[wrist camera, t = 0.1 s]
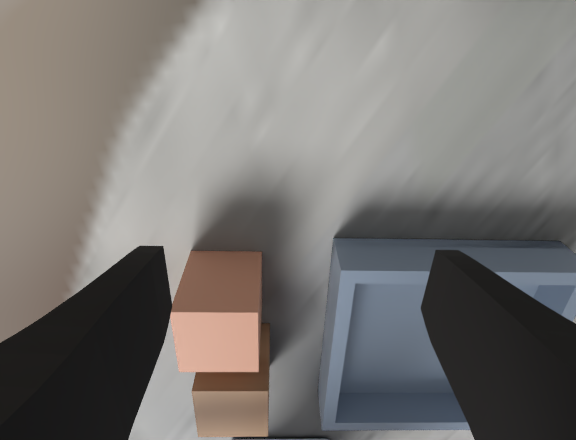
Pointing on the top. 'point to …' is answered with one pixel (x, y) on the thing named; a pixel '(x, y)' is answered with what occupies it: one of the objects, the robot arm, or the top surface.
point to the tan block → (234, 398)
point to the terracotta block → (219, 312)
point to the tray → (411, 326)
